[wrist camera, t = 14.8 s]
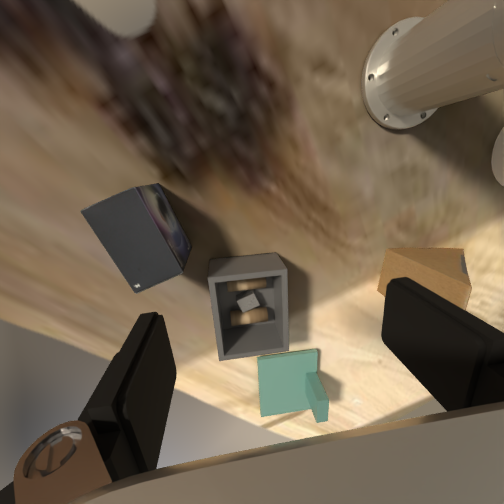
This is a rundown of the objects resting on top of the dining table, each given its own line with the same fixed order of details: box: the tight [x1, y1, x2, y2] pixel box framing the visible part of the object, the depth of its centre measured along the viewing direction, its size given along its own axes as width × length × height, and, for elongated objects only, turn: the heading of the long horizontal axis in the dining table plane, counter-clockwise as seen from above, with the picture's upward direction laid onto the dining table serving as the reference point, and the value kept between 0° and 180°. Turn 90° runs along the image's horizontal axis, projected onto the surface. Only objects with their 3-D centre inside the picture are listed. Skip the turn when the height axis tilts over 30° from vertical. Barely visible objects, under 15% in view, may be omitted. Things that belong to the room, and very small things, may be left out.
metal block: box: [236, 289, 260, 313], centre depth 39 cm, size 3×2×2 cm
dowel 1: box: [227, 277, 266, 292], centre depth 38 cm, size 6×2×2 cm, turn 94°
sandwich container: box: [377, 248, 472, 310], centre depth 37 cm, size 9×15×15 cm, turn 88°
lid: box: [257, 349, 329, 423], centre depth 45 cm, size 11×14×8 cm
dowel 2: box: [230, 307, 268, 326], centre depth 40 cm, size 6×2×2 cm, turn 94°
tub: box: [208, 252, 289, 361], centre depth 38 cm, size 11×14×7 cm
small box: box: [81, 183, 192, 294], centre depth 31 cm, size 11×6×10 cm, turn 23°
